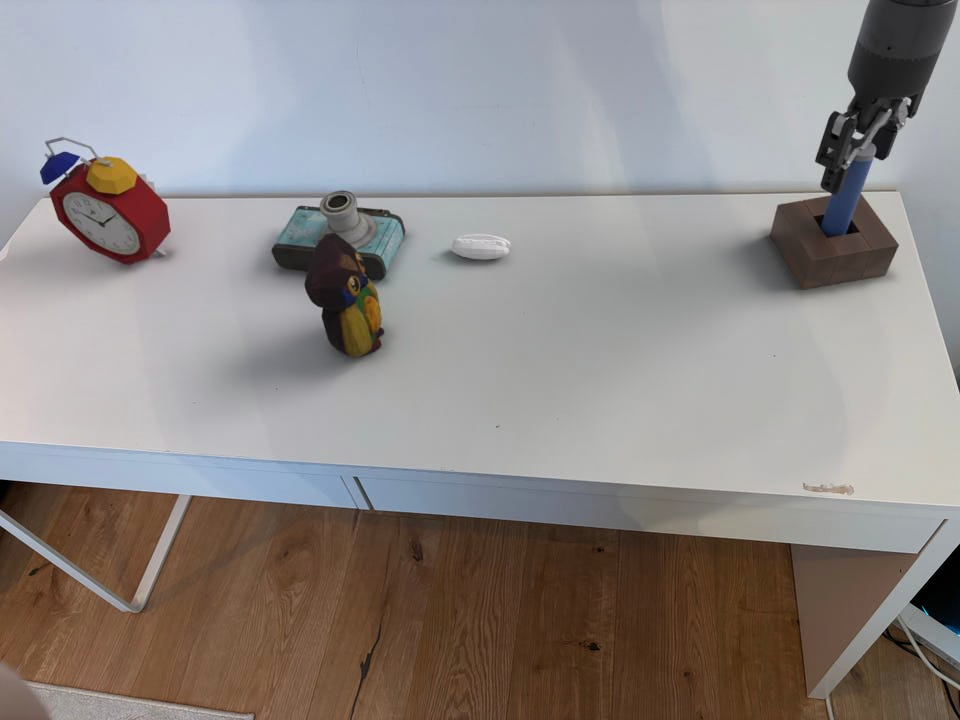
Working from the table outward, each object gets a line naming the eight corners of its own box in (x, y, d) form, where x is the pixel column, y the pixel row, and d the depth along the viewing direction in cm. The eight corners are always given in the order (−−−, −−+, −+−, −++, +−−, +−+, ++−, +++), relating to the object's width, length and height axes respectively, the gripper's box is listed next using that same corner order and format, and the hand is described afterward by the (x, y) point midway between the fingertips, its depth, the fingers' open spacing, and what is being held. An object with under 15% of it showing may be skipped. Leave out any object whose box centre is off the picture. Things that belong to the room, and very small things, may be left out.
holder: (847, 220, 96) (858, 190, 92) (885, 275, 89) (899, 244, 85) (769, 234, 96) (777, 204, 92) (802, 290, 89) (811, 260, 85)
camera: (254, 216, 95) (286, 169, 101) (278, 268, 103) (306, 221, 109) (370, 227, 91) (396, 177, 97) (386, 280, 99) (409, 231, 104)
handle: (831, 244, 93) (868, 137, 81) (841, 259, 92) (881, 153, 79) (808, 248, 93) (842, 142, 81) (818, 264, 92) (854, 158, 79)
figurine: (382, 372, 89) (352, 287, 77) (328, 373, 90) (289, 288, 78) (394, 312, 95) (367, 225, 83) (343, 314, 96) (309, 227, 84)
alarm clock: (85, 259, 109) (2, 146, 94) (119, 221, 114) (45, 108, 99) (166, 272, 105) (93, 157, 90) (198, 232, 110) (134, 116, 94)
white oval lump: (456, 245, 102) (453, 230, 99) (512, 248, 100) (510, 232, 98) (451, 261, 100) (448, 246, 97) (508, 264, 98) (506, 248, 96)
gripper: (891, 80, 66) (843, 218, 78) (982, 19, 70) (922, 159, 83) (820, 51, 70) (785, 187, 83) (910, -5, 74) (863, 132, 87)
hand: (853, 173), depth 83 cm, fingers open, 8 cm apart
